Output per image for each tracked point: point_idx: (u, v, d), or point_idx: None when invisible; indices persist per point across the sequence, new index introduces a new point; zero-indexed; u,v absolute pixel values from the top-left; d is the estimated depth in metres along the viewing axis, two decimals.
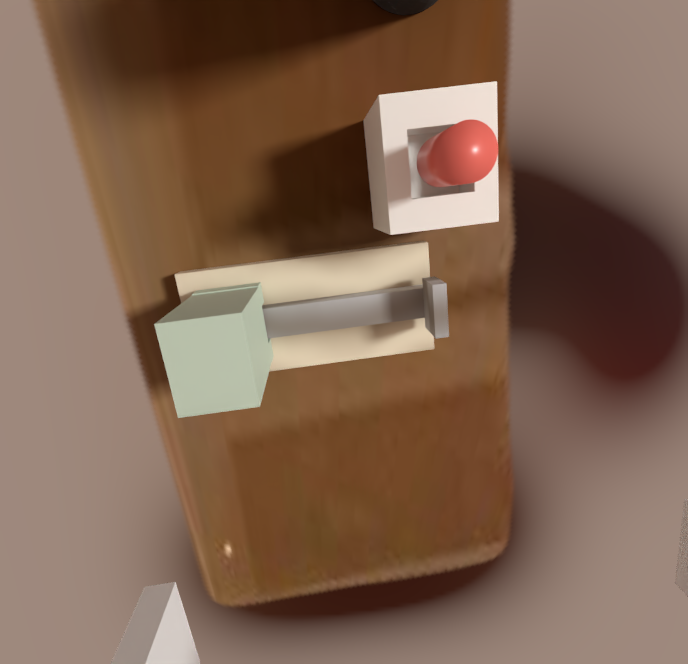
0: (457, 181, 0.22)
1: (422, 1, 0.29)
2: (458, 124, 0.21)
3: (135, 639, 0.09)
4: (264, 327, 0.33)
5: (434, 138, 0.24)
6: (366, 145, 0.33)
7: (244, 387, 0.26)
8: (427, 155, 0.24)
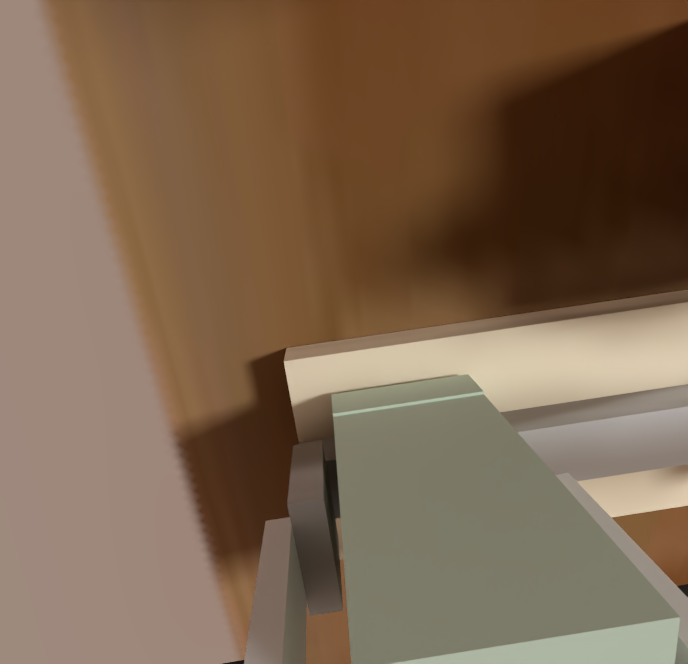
0: None
1: None
2: None
3: (272, 557, 0.11)
4: None
5: None
6: None
7: None
8: None
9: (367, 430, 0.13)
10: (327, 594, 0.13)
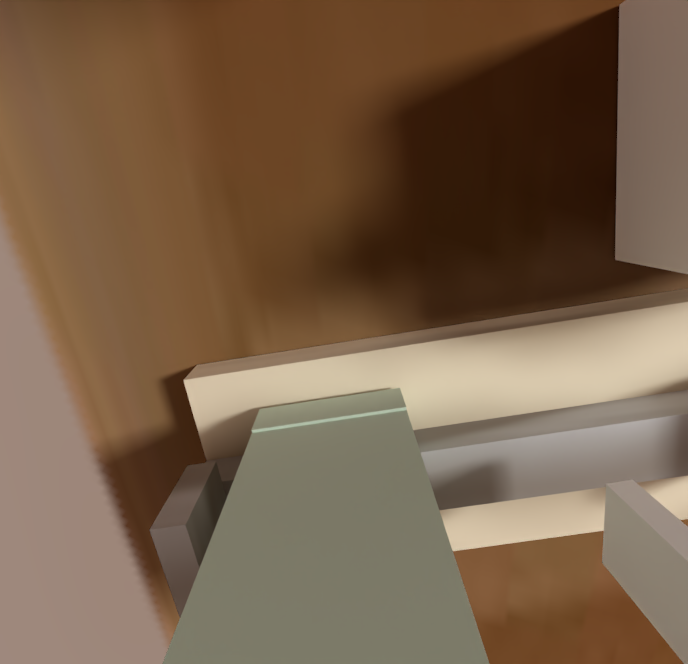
0: None
1: None
2: None
3: None
4: None
5: None
6: (627, 65, 0.13)
7: None
8: None
9: (277, 448, 0.13)
10: None
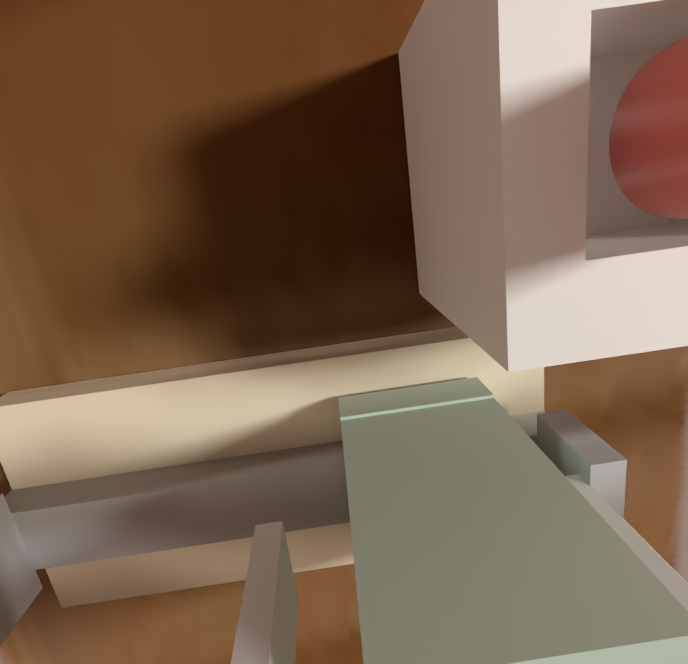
0: None
1: None
2: None
3: (261, 562, 0.11)
4: None
5: None
6: (406, 110, 0.14)
7: None
8: None
9: (376, 434, 0.13)
10: None
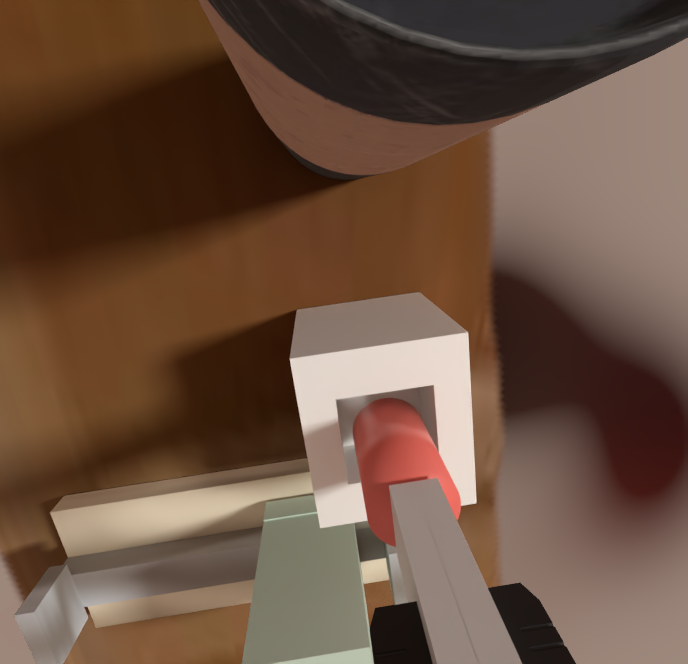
0: None
1: None
2: (395, 475, 0.13)
3: (409, 515, 0.12)
4: (359, 558, 0.25)
5: (367, 444, 0.15)
6: None
7: None
8: (358, 464, 0.16)
9: (279, 534, 0.23)
10: (48, 661, 0.22)
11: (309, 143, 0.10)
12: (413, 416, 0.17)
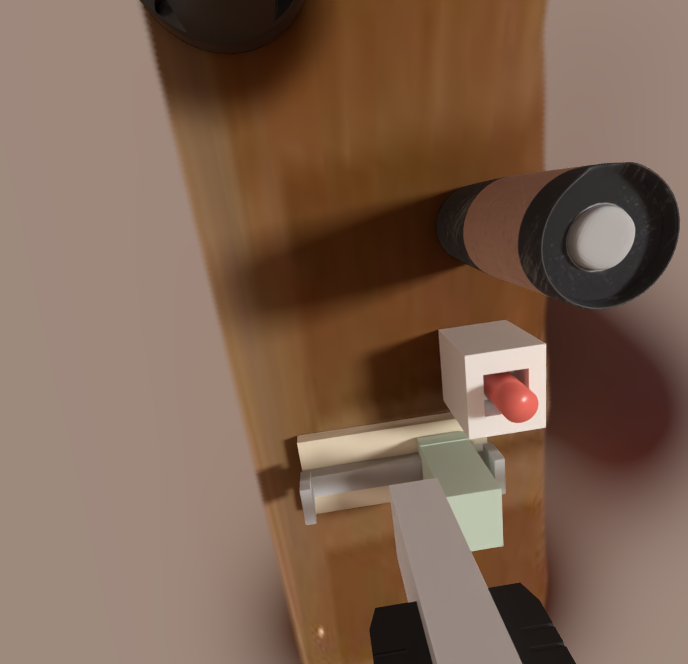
0: (513, 421, 0.35)
1: None
2: (514, 392, 0.35)
3: (409, 515, 0.12)
4: None
5: (495, 384, 0.37)
6: (440, 347, 0.44)
7: (495, 534, 0.38)
8: (490, 393, 0.37)
9: (433, 451, 0.43)
10: (311, 518, 0.42)
11: (509, 281, 0.30)
12: (511, 374, 0.38)
